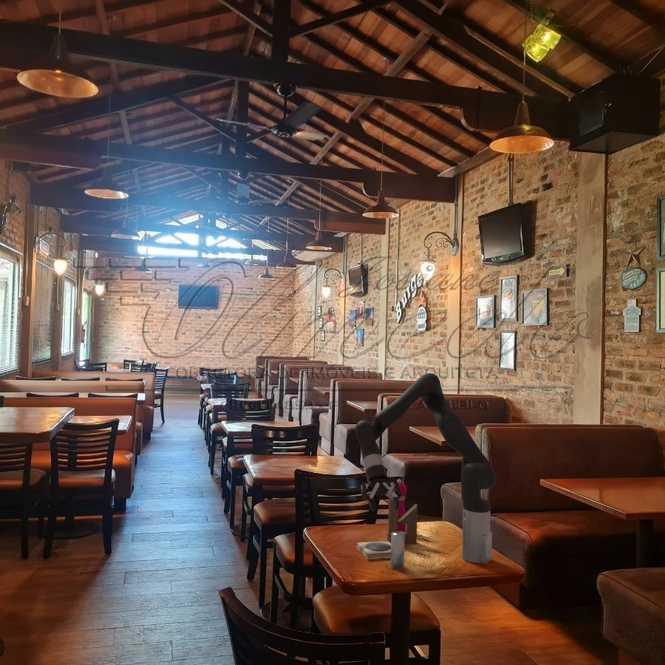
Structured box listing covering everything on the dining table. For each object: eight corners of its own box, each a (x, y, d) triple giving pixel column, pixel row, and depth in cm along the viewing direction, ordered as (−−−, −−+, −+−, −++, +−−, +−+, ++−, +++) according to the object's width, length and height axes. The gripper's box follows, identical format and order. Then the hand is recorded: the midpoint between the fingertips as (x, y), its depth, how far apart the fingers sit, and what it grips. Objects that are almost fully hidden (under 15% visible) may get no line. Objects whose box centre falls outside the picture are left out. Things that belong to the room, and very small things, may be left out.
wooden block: (416, 544, 221) (417, 495, 221) (387, 543, 221) (389, 494, 221) (415, 541, 224) (416, 493, 225) (387, 540, 224) (388, 492, 225)
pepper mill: (410, 528, 240) (411, 479, 241) (402, 532, 234) (403, 482, 235) (394, 525, 244) (395, 476, 245) (386, 529, 238) (387, 479, 239)
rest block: (400, 557, 206) (400, 551, 206) (367, 559, 203) (367, 553, 203) (387, 546, 217) (388, 540, 217) (356, 548, 214) (356, 542, 214)
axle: (406, 566, 197) (406, 533, 197) (399, 570, 193) (400, 536, 194) (394, 563, 200) (395, 530, 200) (388, 567, 196) (388, 533, 196)
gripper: (389, 474, 223) (401, 513, 212) (354, 475, 219) (363, 515, 208) (395, 463, 218) (407, 503, 207) (359, 464, 214) (369, 505, 203)
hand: (385, 509), depth 208 cm, fingers open, 8 cm apart
